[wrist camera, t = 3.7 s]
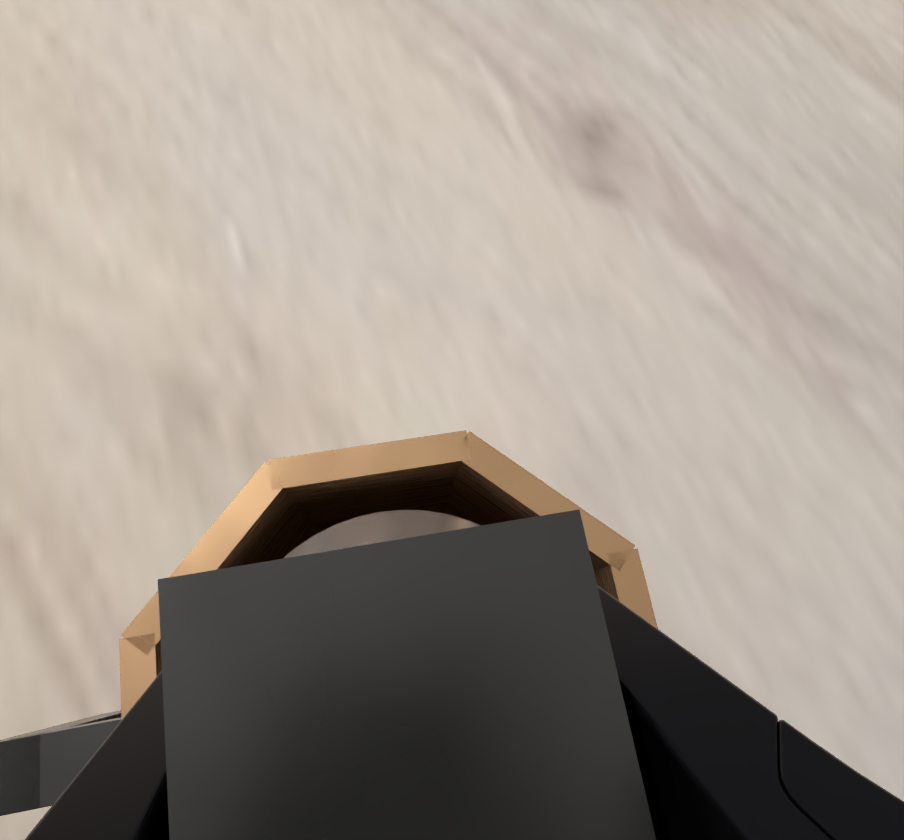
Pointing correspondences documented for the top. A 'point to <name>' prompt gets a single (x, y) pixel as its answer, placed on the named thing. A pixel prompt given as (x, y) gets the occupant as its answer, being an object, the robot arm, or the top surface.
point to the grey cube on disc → (400, 689)
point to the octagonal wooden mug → (289, 525)
